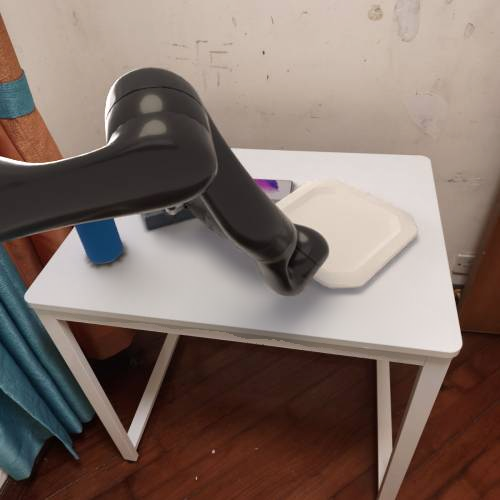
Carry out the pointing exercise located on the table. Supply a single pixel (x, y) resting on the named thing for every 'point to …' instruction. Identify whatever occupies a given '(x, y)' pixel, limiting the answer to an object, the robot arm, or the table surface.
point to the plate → (349, 229)
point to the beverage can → (100, 240)
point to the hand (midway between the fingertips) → (171, 172)
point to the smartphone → (275, 188)
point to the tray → (165, 218)
